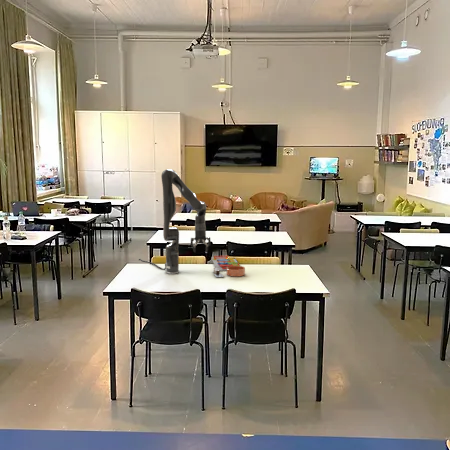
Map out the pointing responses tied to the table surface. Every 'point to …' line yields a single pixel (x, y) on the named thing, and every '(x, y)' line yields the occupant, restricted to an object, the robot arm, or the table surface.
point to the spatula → (217, 273)
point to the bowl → (235, 271)
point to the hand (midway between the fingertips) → (200, 251)
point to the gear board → (223, 262)
